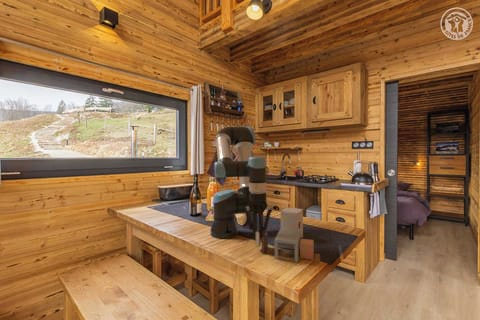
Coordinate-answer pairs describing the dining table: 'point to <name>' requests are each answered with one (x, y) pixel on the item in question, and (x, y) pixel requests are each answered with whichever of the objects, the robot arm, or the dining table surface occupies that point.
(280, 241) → the tunnel
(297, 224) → the supplement box
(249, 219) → the robot arm
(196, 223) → the dining table surface
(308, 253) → the block
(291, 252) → the sled
